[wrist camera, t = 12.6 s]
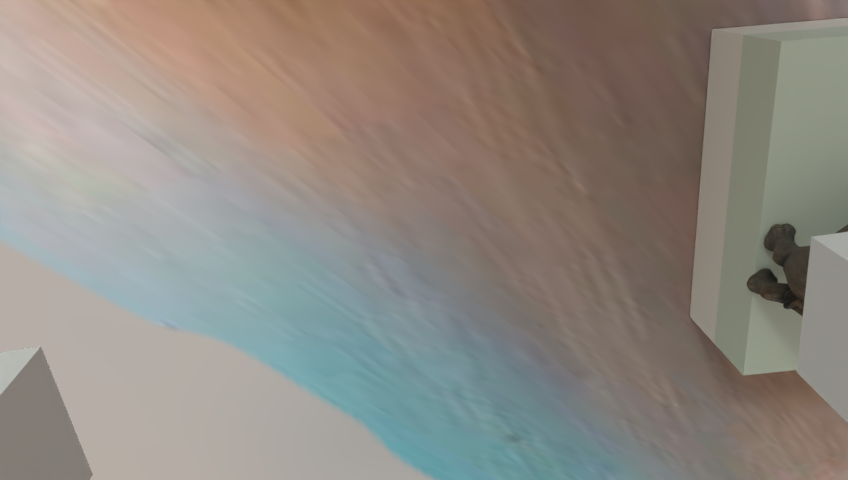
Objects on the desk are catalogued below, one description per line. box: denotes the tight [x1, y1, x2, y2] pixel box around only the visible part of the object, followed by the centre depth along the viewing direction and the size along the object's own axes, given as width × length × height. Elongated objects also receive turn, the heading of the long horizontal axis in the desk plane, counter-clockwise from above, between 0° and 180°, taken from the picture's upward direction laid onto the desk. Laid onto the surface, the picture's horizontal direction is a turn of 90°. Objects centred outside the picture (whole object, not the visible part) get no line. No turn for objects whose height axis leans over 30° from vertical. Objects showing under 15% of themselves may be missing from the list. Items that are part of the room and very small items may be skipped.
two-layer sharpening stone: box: [690, 18, 848, 375], centre depth 38 cm, size 18×10×7 cm, turn 4°
